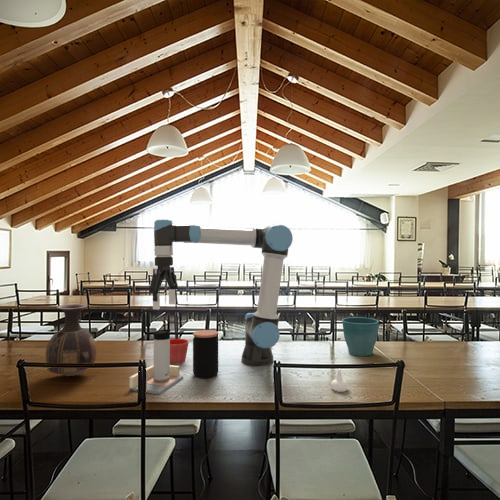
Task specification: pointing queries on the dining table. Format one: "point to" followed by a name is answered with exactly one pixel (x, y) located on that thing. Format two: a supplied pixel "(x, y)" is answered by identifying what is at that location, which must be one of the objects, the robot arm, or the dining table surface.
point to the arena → (155, 386)
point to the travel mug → (162, 356)
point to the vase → (71, 343)
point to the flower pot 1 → (178, 350)
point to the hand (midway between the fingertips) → (164, 306)
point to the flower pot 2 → (360, 335)
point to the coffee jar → (205, 354)
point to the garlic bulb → (339, 383)
